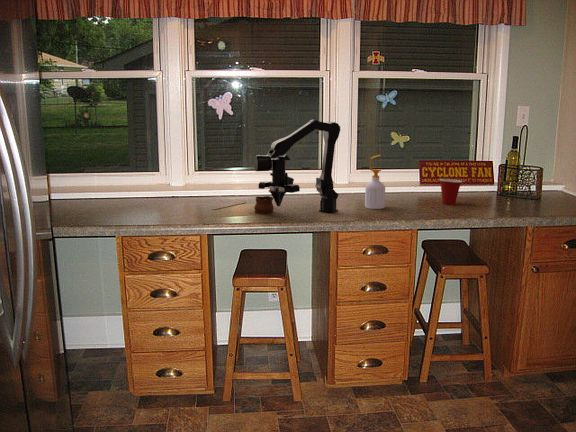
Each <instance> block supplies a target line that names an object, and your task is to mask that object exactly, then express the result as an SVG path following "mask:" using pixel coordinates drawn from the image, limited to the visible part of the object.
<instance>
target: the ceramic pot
mask: <svg viewBox="0 0 576 432" xmlns="http://www.w3.org/2000/svg"><path fill="white" fill-rule="evenodd" d="M273 200H274V198H273V196H270V195H266V196H265V195H264V196H255V205H254V207H253V208H254V211H255V213H256V214H260V213H261V214H262V215H263V214H264V215H266V214H268V213H269V214H273V213H274V210H275V208H274V207H275V206H274V204H273ZM272 212H273V213H272ZM261 214H260V215H261Z"/></svg>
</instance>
